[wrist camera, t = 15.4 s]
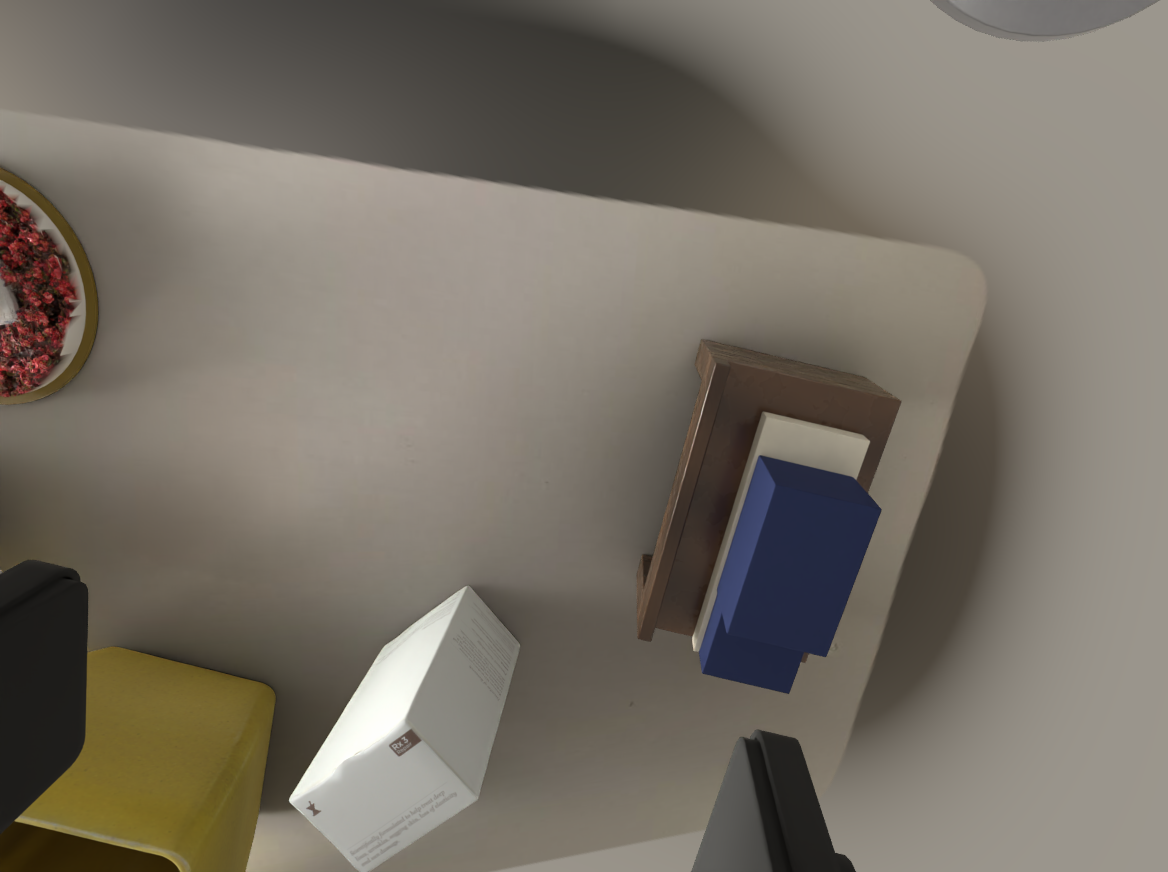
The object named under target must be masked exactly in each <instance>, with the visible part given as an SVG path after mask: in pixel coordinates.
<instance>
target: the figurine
mask: <svg viewBox="0 0 1168 872" xmlns="http://www.w3.org/2000/svg"><path fill="white" fill-rule="evenodd" d="M97 323H98V299H97V291H96V286H95V281H94V277H93V273H92V270H91V267H90V264H89V261H88V259H87V256H86V254H85V252H84V250H83V248H82V246H81V244H80V242H79V240H78V238H77V237H76V235H75V233H74V232H73V230H72V229H71V227H70V226H69V224H68V223H67V222H66V220H65V219H64V217H63V216H62V215H61V214H60V213H59V211H58V210H57V209H56V208H55V207H54V206H53V205H52V204H51V203H50V202H49V201H48V200H47V199H46V198H45V197H44V196H43V195H42V194H41V193H40V192H38V191H37V190H36V189H35V188H33V187H32V186H31V185H29V184H28V183H26V182H25V181H24V180H22V179H20V178H19V177H17V176H16V175H14V174H12V173H10V172H8V171H6V170H4V169H2V168H0V404H1V405H11V404H21V403H27V402H31V401H35V400H38V399H41V398H44V397H46V396H49V395H51V394H53V393H54V392H56V391H58V390H59V389H61V388H62V387H64V386H65V385H66V384H67V383H69V382H70V381H71V380H72V379H73V378H74V377H75V376H76V374H77V373H78V372H79V371H80V369H81V368H82V366H83V365H84V363H85V362H86V360H87V358H88V356H89V354H90V351H91V349H92V346H93V343H94V340H95V335H96V331H97Z"/></svg>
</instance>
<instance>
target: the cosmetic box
mask: <svg viewBox="0 0 1168 872" xmlns="http://www.w3.org/2000/svg"><path fill="white" fill-rule="evenodd" d="M519 650H520V644H519V642H518V641H517V640H516V639H515V638H514V636H513V635H512V634H511V633H510V632H509V631H508V630H507V628H506V627H505V626H504V625H503V624H502V623H501V622H500V620H499V619H498V618H497V617H496V616H495V615H494V613H493V612H492V611H491V610H490V609H489V608H488V607H487V605H486V604H485V603H484V602H483V601H482V600H481V599H480V597H479V596H478V595H477V594H476V593H475V592H474V591H473V589H472V588H471V587H470V586H468V585H467V586H465V587H464V588H462V589H461V590H459V591H458V592H456V593H455V594H454V595H452V596H451V597H450V598H448V599H447V600H445V601H444V602H443V603H441V604H440V605H439V606H437V607H436V608H434V609H433V610H432V611H430V612H429V613H428V614H426V615H425V616H424V617H422V618H421V619H419V620H418V621H417V622H415V623H414V624H413V625H411V626H410V627H409V628H407V629H406V630H405V631H404V632H403V633H402V634H400V635H399V636H398V637H397V638H395V639H394V640H392V641H391V642H389V643H388V644H386V645H385V646H384V647H383V648H382V650H381V652H380V653H379V655H378V657H377V658H376V660H375V661H374V663H373V665H372V666H371V668H370V669H369V671H368V673H367V674H366V676H365V677H364V679H363V681H362V682H361V684H360V685H359V687H358V689H357V690H356V692H355V693H354V695H353V697H352V698H351V700H350V701H349V703H348V705H347V706H346V708H345V709H344V711H343V713H342V714H341V716H340V718H339V719H338V721H337V722H336V724H335V726H334V727H333V729H332V730H331V732H330V734H329V735H328V737H327V739H326V740H325V742H324V743H323V745H322V747H321V748H320V750H319V751H318V753H317V755H316V756H315V758H314V759H313V761H312V763H311V764H310V766H309V768H308V769H307V771H306V772H305V774H304V776H303V777H302V779H301V780H300V782H299V784H298V785H297V787H296V789H295V790H294V792H293V793H292V795H291V797H290V799H289V802H290V803H291V804H292V805H293V806H294V807H295V808H296V809H297V810H299V811H300V812H301V813H302V814H303V815H304V816H305V817H306V818H307V819H308V820H309V821H310V822H311V823H312V824H313V825H314V826H315V827H316V828H317V829H318V830H319V831H320V832H321V833H322V834H323V835H324V836H325V837H326V838H327V839H328V840H329V841H330V842H331V843H332V844H333V845H334V846H335V847H336V848H337V849H338V850H339V851H340V852H341V853H342V854H343V855H344V857H345V858H346V859H347V860H348V861H349V862H350V863H351V864H352V865H353V866H354V867H355V868H356V869H357V870H358V871H359V872H369V871H371V870H372V869H374V868H376V867H377V866H378V865H380V864H381V863H383V862H384V861H386V860H388V859H389V858H391V857H392V856H394V855H395V854H397V853H398V852H400V851H401V850H403V849H404V848H406V847H407V846H409V845H410V844H412V843H413V842H415V841H416V840H418V839H420V838H421V837H423V836H424V835H426V834H427V833H429V832H430V831H432V830H433V829H435V828H436V827H438V826H439V825H441V824H442V823H444V822H445V821H447V820H448V819H450V818H451V817H453V816H454V815H456V814H457V813H459V812H460V811H462V810H463V809H465V808H466V807H468V806H469V805H471V804H472V803H474V802H475V801H477V800H478V798H479V794H480V790H481V786H482V783H483V779H484V775H485V772H486V768H487V765H488V761H489V757H490V753H491V749H492V746H493V742H494V739H495V736H496V732H497V729H498V725H499V722H500V718H501V715H502V711H503V707H504V704H505V700H506V697H507V693H508V690H509V686H510V683H511V679H512V675H513V672H514V668H515V664H516V661H517V657H518V653H519Z"/></svg>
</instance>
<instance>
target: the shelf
mask: <svg viewBox="0 0 1168 872" xmlns="http://www.w3.org/2000/svg"><path fill="white" fill-rule="evenodd" d="M695 366H696V369H697V371H698V373H699V375H700V378H701V380H702V382H701V386H700V390H699V393H698V397H697V400H696V404H695V408H694V411H693V415H692V418H691V422H690V425H689V429H688V433H687V436H686V440H685V443H684V447H683V450H682V454H681V458H680V461H679V465H678V468H677V472H676V475H675V479H674V483H673V486H672V490H671V493H670V497H669V500H668V504H667V508H666V511H665V515H664V518H663V522H662V526H661V529H660V533H659V536H658V540H657V543H656V547H655V551H654V554H653V556H648V555H644V554H642V557H641V561H640V564H639V568H638V572H637V637H638V639H641V640H645V641H649V642H651V640H652V637H653V633H654V630H655V628H659V629H663V630H667V631H671V632H676V633H680V634H684V635H688V636H693V634H694V631H695V628H696V625H697V621H698V618H699V615H700V612H701V608H702V605H703V602H704V599H705V595H706V592H707V589H708V586H709V583H710V579H711V576H712V573H713V570H714V566H715V563H716V560H717V557H718V553H719V550H720V547H721V544H722V540H723V537H724V534H725V531H726V528H727V524H728V521H729V518H730V515H731V511H732V508H733V505H734V502H735V498H736V495H737V492H738V489H739V486H740V482H741V479H742V476H743V473H744V469H745V466H746V463H747V460H748V456H749V453H750V450H751V447H752V443H753V440H754V437H755V434H756V431H757V427H758V424H759V421H760V418H761V414H762V412H763V411H764V412H768V413H772V414H776V415H781V416H785V417H789V418H793V419H798V420H802V421H806V422H810V423H815V424H819V425H823V426H828V427H832V428H836V429H840V430H845V431H849V432H853V433H857V434H862V435H864V436H865V437H866V438H867V439H868V440H869V441H870V443H869V446H868V449H867V452H866V454H865V457H864V460H863V463H862V466H861V468H860V471H859V474H858V477H857V479H856V481H857V482H858V483H859V484H860V485H861V486H862V488H863V489H864V490H865V491H866V492H867V493H868V491H869V489H870V486H871V483H872V480H873V478H874V475H875V472H876V470H877V467H878V464H879V461H880V459H881V456H882V453H883V451H884V448H885V445H886V442H887V440H888V437H889V434H890V431H891V429H892V426H893V423H894V421H895V418H896V415H897V412H898V410H899V407H900V404H901V401H900V400H899V399H897V398H896V397H894V396H893V395H891V394H890V393H888V392H887V391H885V390H884V389H882V388H881V387H879V386H878V385H876V384H875V383H873V382H871V381H870V380H868V379H867V378H865V377H862V376H857V375H853V374H849V373H845V372H840V371H836V370H832V369H828V368H823V367H819V366H815V365H811V364H806V363H802V362H798V361H794V360H789V359H785V358H781V357H777V356H772V355H768V354H764V353H760V352H755V351H751V350H747V349H742V348H738V347H734V346H730V345H725V344H721V343H717V342H713V341H708V340H704V339H701V342H700V346H699V349H698V353H697V357H696V360H695ZM808 654H809V653H806V652H804V654H803V657H802V660H801V662H803V663H805V662H806V660H807V657H808Z"/></svg>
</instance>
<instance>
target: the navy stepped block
mask: <svg viewBox="0 0 1168 872" xmlns="http://www.w3.org/2000/svg"><path fill="white" fill-rule="evenodd" d="M869 443H870V441H869V440H868V439H867V438H866V437H865V436H864V435H862V434H857V433H853V432H849V431H845V430H840V429H836V428H832V427H828V426H823V425H819V424H815V423H810V422H806V421H802V420H798V419H793V418H789V417H785V416H781V415H776V414H772V413H768V412H764V411H763V412H762V414H761V418H760V421H759V424H758V427H757V431H756V434H755V437H754V440H753V443H752V447H751V450H750V453H749V456H748V460H747V463H746V466H745V469H744V473H743V476H742V479H741V482H740V486H739V489H738V492H737V495H736V498H735V502H734V505H733V508H732V511H731V515H730V518H729V521H728V524H727V528H726V531H725V534H724V537H723V540H722V544H721V547H720V550H719V553H718V557H717V560H716V563H715V566H714V570H713V573H712V576H711V579H710V583H709V586H708V589H707V592H706V595H705V599H704V602H703V605H702V608H701V612H700V615H699V618H698V621H697V625H696V628H695V631H694V634H693V637H692V643H693V650H694V651H696V652H699V656H700V662H701V669H702V673H703V674H706V675H711V676H715V677H719V678H723V679H728V680H732V681H736V682H740V683H745V684H749V685H753V686H758V687H762V688H766V689H770V690H775V691H779V692H783V693H787V694H789V693H790V690H791V687H792V684H793V682H794V679H795V676H796V673H797V671H798V668H799V665H800V662H801V660H802V657H803V654H804V652H806V653H810V654H814V655H819V656H823V657H826V656H827V654H828V651H829V648H830V646H831V643H832V640H833V638H834V635H835V632H836V630H837V627H838V625H839V622H840V619H841V617H842V614H843V611H844V609H845V606H846V603H847V601H848V598H849V595H850V593H851V590H852V587H853V585H854V582H855V579H856V577H857V574H858V571H859V569H860V566H861V563H862V561H863V558H864V556H865V553H866V550H867V548H868V545H869V542H870V540H871V537H872V534H873V532H874V529H875V526H876V524H877V521H878V518H879V516H880V513H881V508H880V507H879V506H878V505H877V504H876V502H875V501H874V500H873V499H872V498H871V497H870V496H869V494H868V493H867V492H866V491H865V490H864V489H863V488H862V486H861V485H860V484H859V483H858V482H857V481H856V479H857V477H858V474H859V471H860V468H861V466H862V463H863V460H864V457H865V454H866V452H867V449H868V446H869Z"/></svg>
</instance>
